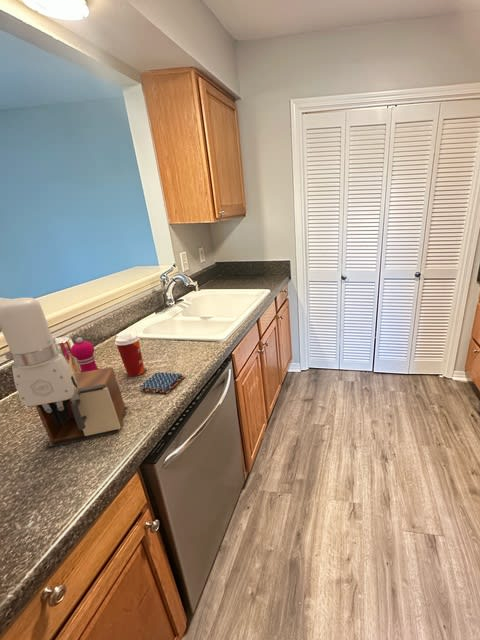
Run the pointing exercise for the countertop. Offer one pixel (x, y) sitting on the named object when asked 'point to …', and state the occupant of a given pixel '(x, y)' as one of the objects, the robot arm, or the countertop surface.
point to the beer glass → (67, 352)
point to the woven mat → (161, 382)
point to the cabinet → (70, 429)
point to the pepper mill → (84, 355)
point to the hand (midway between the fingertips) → (63, 422)
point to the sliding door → (95, 412)
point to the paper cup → (130, 353)
